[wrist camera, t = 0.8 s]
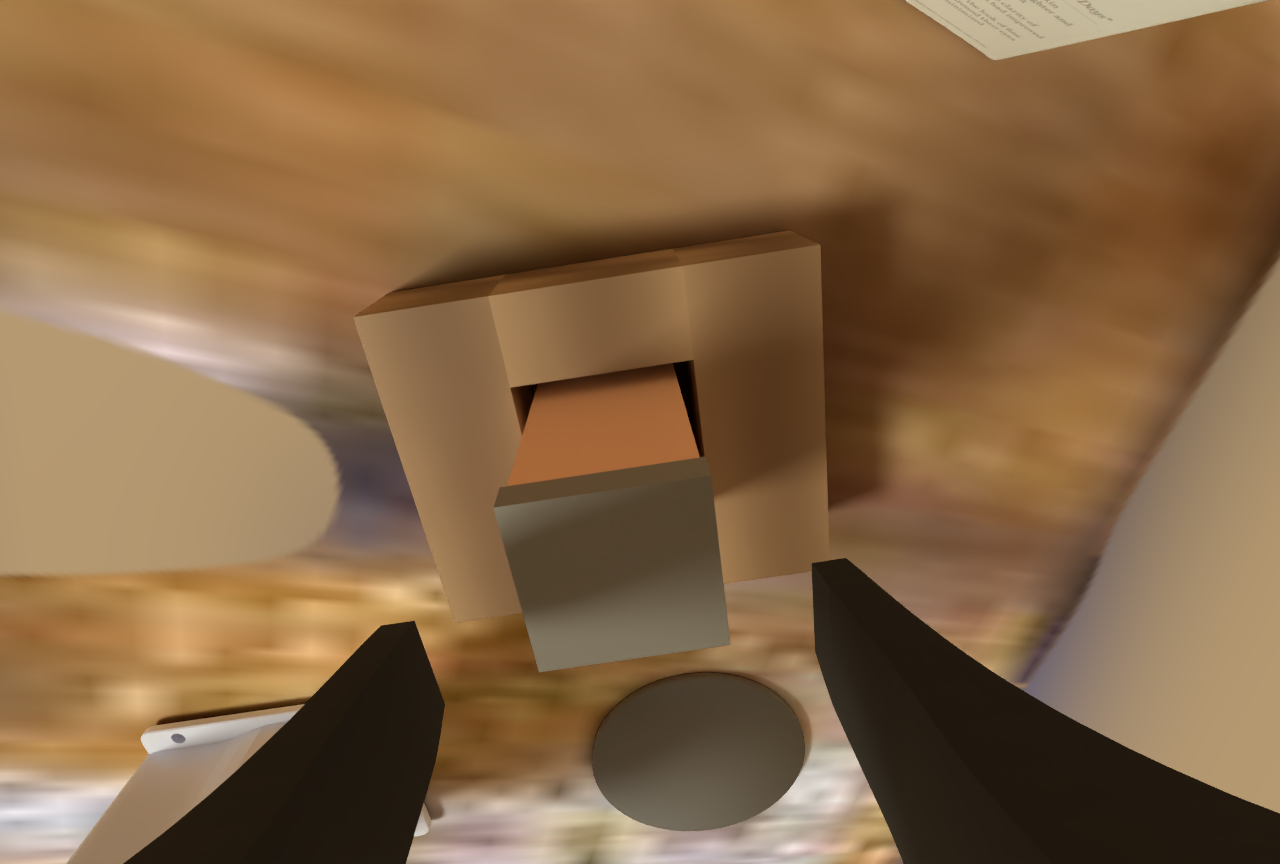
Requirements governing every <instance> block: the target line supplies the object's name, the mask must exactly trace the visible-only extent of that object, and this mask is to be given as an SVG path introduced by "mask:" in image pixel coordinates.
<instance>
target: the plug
mask: <svg viewBox="0 0 1280 864" xmlns="http://www.w3.org/2000/svg"><path fill="white" fill-rule="evenodd" d="M493 508H494V512H495V516H496V519H497V523H498V526H499V530H500V534H501V537H502V541H503V544H504V548H505V552H506V555H507V559H508V563H509V566H510V570H511V573H512V577H513V581H514V584H515V588H516V591H517V595H518V599H519V602H520V606H521V610H522V613H523V617H524V620H525V624H526V628H527V631H528V635H529V638H530V642H531V646H532V649H533V653H534V656H535V660H536V664H537V667H538V671H539V672H546V671H553V670H560V669H567V668H574V667H581V666H588V665H595V664H602V663H609V662H616V661H623V660H630V659H636V658H643V657H650V656H657V655H664V654H671V653H678V652H685V651H692V650H699V649H706V648H713V647H720V646H727V645H730V637H729V628H728V619H727V611H726V602H725V593H724V584H723V575H722V566H721V557H720V548H719V539H718V531H717V522H716V513H715V504H714V495H713V486H712V477H711V473H710V469H709V466H708V463H707V460H706V457H700V456H699V453H698V449H697V446H696V442H695V439H694V435H693V432H692V429H691V425H690V422H689V418H688V415H687V411H686V408H685V404H684V401H683V397H682V394H681V391H680V387H679V384H678V380H677V377H676V373H675V370H674V366H673V363H669V364H662V365H656V366H649V367H643V368H636V369H629V370H623V371H616V372H610V373H603V374H597V375H590V376H583V377H577V378H570V379H564V380H557V381H551V382H544V383H538V385H537V388H536V392H535V395H534V398H533V402H532V405H531V408H530V412H529V415H528V418H527V422H526V425H525V428H524V432H523V435H522V438H521V442H520V445H519V448H518V452H517V455H516V458H515V462H514V465H513V468H512V472H511V475H510V479H509V482H508V485H507V486H505V487H500V488H499V491H498V495H497V498H496V501H495V504H494V507H493Z"/></svg>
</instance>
